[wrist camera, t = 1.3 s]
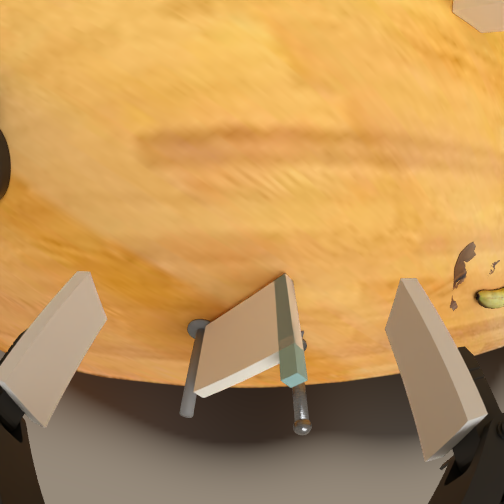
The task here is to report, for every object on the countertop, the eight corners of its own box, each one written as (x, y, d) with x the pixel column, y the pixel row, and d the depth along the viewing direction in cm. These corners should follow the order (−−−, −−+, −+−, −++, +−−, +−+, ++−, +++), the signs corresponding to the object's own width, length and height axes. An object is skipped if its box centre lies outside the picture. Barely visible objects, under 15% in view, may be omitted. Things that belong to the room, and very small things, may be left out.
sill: (189, 338, 49) (188, 339, 49) (186, 317, 47) (186, 319, 46) (299, 345, 50) (299, 347, 49) (305, 325, 47) (305, 327, 47)
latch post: (280, 353, 51) (285, 440, 35) (283, 336, 48) (290, 428, 33) (303, 353, 51) (314, 439, 36) (308, 337, 49) (322, 427, 33)
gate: (202, 337, 48) (185, 427, 33) (194, 331, 47) (175, 421, 32) (292, 279, 42) (307, 380, 27) (285, 271, 41) (297, 372, 26)
